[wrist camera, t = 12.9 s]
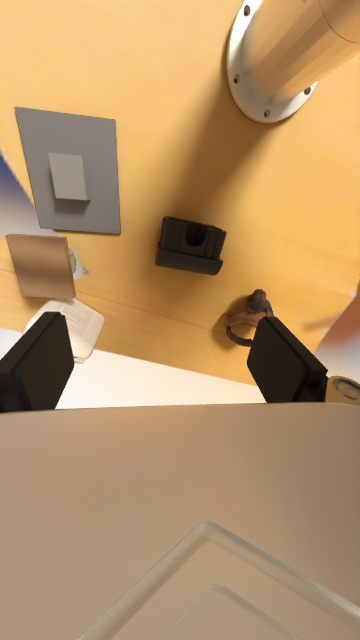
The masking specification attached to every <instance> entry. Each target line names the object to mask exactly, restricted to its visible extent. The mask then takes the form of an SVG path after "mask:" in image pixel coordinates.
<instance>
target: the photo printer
mask: <svg viewBox="0 0 360 640" xmlns="http://www.w3.org/2000/svg"><path fill="white" fill-rule="evenodd" d="M45 311H51V312H60V313H61V315H65V317H66V322H67V327H68V332H69V337H70V342H71V347H72V352H73V357H74V362H75V363H83V362H84V361H85V360H86V359H87V358H89V356H90V355H91V354H92V352H93V350H94V347H95V345H96V343H97V340H98V338H99V335H100V333H101V330H102V328H103V325H104V322H105V318H104V317H103V316H102V315H101V314H100V313H98V312H96V311H95V310H93V309H92V308H90V307H88V306H87V305H85V304H83V303H82V302H80V301H78V300H77V299H75V298H50V299H49V300H48V301H47V302H46V303H45V304H44V305H43V306H42V307H41V308H40V309H39V310H38V311H37V312H36V313H35V314H34V315H33V316H32V317H31V318H30V319H29V320H28V322H27V324H26V326H25V330H24V332H23V333H22V334H23V335H24V334H25V333H26V332H27V330H28V329H29V328H30V327H31V326H32V325H33V324H34V323H35V322H36V321H37V320H38V318H39V317H40V316H41V315H42V314H43V313H44V312H45Z"/></svg>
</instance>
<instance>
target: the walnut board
mask: <svg viewBox="0 0 360 640" xmlns="http://www.w3.org/2000/svg"><path fill="white" fill-rule="evenodd" d="M5 237H6V240H7V244H8V247H9V250H10V254H11V257H12V261H13V264H14V268H15V271H16V275H17V278H18V281H19V285H20V288H21V292H22V295H23V297H48V298H74V297H75V295H76V292H75V286H74V280H73V274H72V268H71V261H70V255H69V249H68V243H67V237H55V236H39V235H22V234H8V235H6V236H5Z"/></svg>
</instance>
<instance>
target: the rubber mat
mask: <svg viewBox="0 0 360 640" xmlns="http://www.w3.org/2000/svg"><path fill="white" fill-rule="evenodd" d="M15 112H16V116H17V121H18V126H19V130H20V135H21V140H22V144H23V149H24V154H25V158H26V163H27V168H28V173H29V177H30V182H31V187H32V191H33V196H34V201H35V205H36V210H37V214H38V219H39V224H40V228H44V229H59V230H74V231H89V232H105V233H121V227H120V206H119V185H118V165H117V144H116V123H115V120H114V119H107V118H99V117H91V116H83V115H75V114H68V113H60V112H52V111H44V110H36V109H29V108H21V107H15Z"/></svg>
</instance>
